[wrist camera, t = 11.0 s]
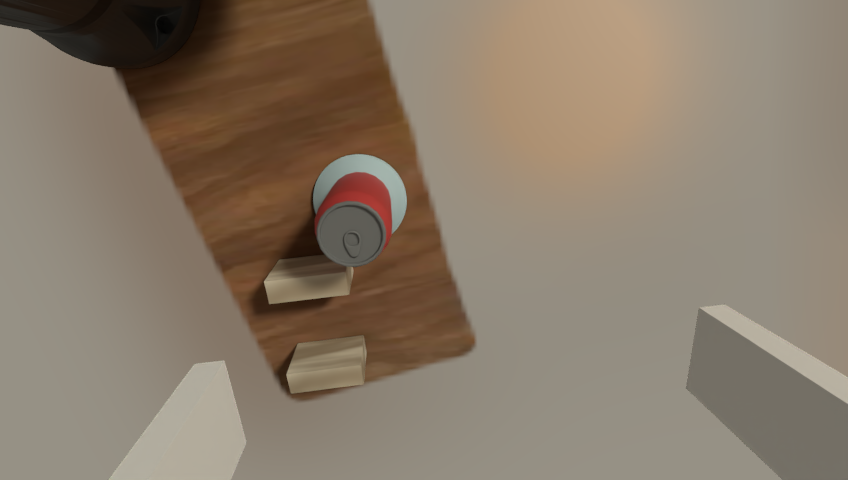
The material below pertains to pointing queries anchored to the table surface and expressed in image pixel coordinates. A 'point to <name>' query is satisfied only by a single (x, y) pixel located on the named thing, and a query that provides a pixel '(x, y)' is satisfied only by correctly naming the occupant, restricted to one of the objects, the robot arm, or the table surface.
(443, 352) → the table surface
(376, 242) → the beer can
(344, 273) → the block
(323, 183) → the coaster
